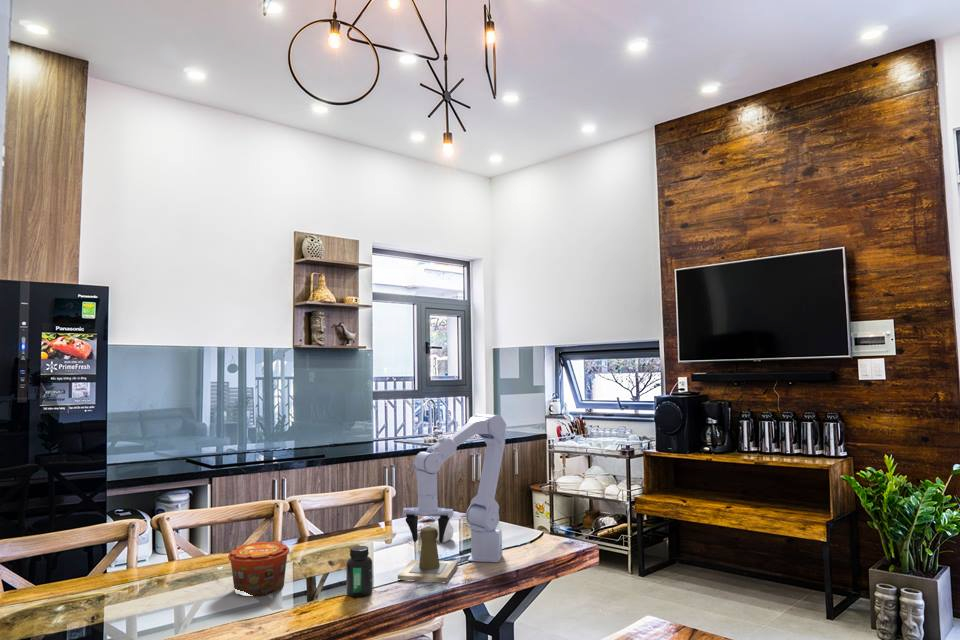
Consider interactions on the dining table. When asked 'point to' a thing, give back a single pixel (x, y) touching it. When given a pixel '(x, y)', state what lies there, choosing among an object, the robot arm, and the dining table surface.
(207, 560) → the dining table surface
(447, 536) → the bust
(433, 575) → the base board
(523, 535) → the dining table surface
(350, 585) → the supplement bottle
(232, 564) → the food container
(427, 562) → the cork
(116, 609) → the dining table surface
